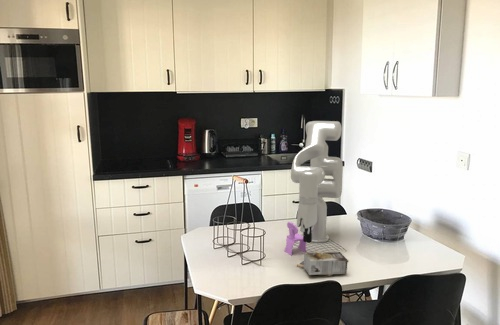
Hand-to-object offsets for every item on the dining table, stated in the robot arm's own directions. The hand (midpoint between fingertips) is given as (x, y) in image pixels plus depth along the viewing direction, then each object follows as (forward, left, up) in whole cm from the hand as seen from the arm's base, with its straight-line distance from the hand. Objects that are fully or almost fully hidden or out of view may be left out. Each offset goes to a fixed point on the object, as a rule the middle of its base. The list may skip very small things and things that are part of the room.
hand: (307, 241), depth 180 cm
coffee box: (+2, -4, -8) cm, 9 cm away
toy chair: (-14, +14, -13) cm, 24 cm away
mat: (+3, +9, -13) cm, 16 cm away
